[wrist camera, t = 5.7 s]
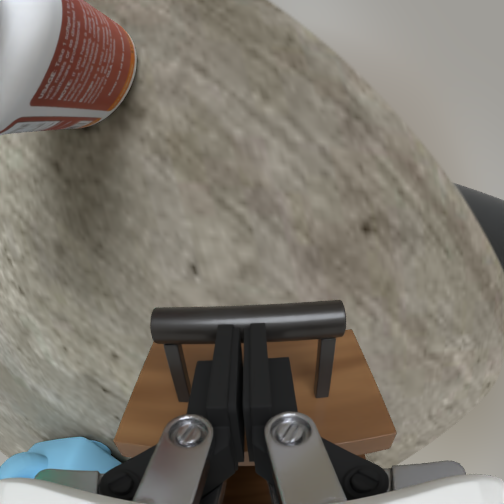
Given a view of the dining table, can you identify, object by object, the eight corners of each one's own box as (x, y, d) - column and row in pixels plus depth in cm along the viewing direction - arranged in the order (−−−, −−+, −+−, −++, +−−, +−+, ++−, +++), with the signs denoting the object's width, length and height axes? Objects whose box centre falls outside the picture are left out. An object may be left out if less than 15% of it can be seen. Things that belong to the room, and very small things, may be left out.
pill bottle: (108, 3, 12) (-20, -82, 1) (162, 77, 13) (16, 1, 3) (30, 77, 13) (-120, 69, 2) (74, 152, 15) (-95, 196, 4)
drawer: (139, 262, 16) (68, 353, 9) (359, 252, 16) (430, 341, 8) (191, 454, 22) (179, 533, 15) (330, 449, 22) (345, 528, 14)
